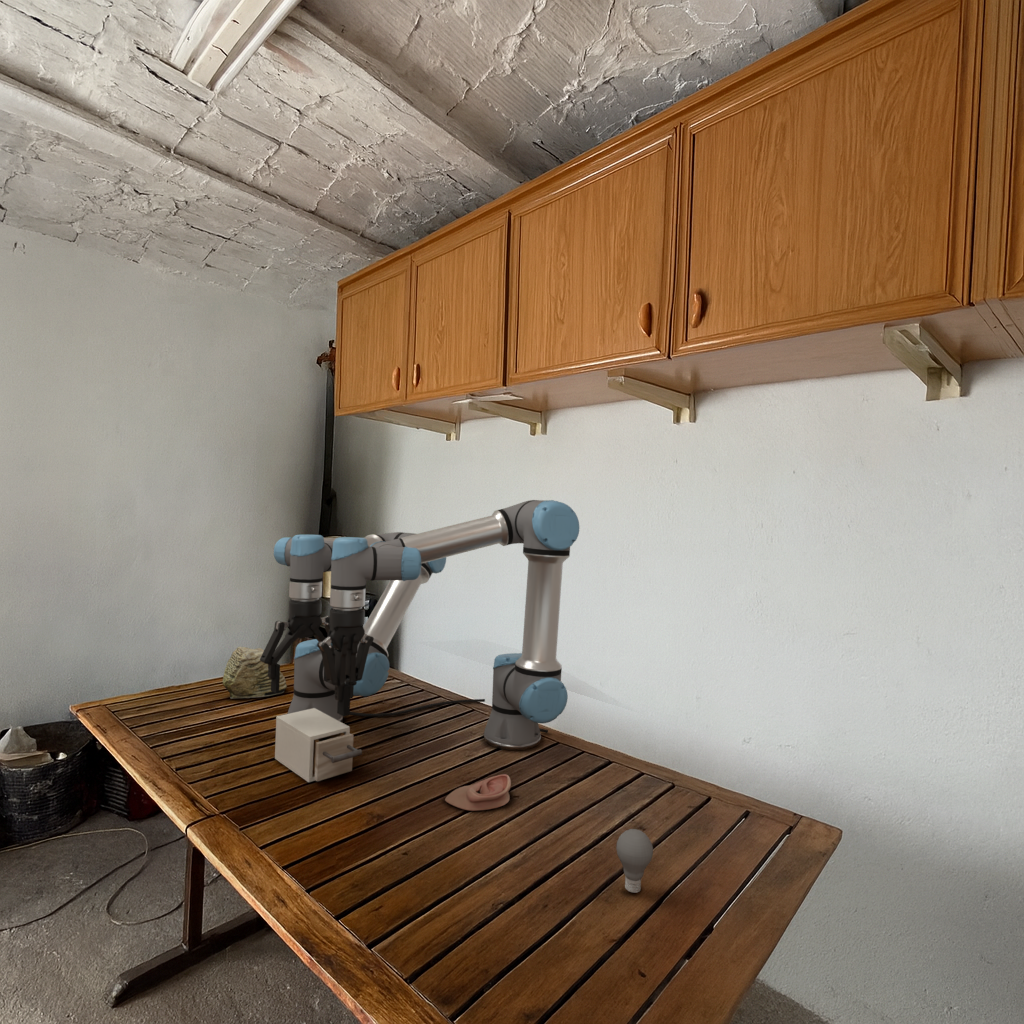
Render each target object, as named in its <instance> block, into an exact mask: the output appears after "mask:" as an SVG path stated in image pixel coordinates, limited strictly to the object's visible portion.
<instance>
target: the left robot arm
mask: <svg viewBox="0 0 1024 1024" xmlns="http://www.w3.org/2000/svg"><path fill="white" fill-rule="evenodd" d="M415 534H416V533H413V532H403V531H402V532H401V531H396V532H387V533H386V532H385V533H374V534H368V535H366V536H364V538H365V539H367V541H368V546H370V545H372V544H373V543H375V542H379V541H385V542H386V541H391V540H395V539H400V538H403V537H407V536H411V535H415ZM336 538H337V537H324V536H323V535H321V534H307V533H306V534H295V535H293V536H290V537H285V536H284V537H281V538H280V539H278V540H277V541H276V542H275V544H274V547H273V557H274V560H275V561H276V563H278V564H279V565H281V566H287V567H289V588H288V590H289V591H288V598H290V599H289V601H288V612H287V613H288V620H287V621H280V620H276V621H275V623H274V628H273V631H272V633H271V636H270V638H269V640H268V641H267V644H266V645H265V648H264V649H263V650H264V652H263V654H262V656H261V658H260V661H261V662H263V663H265V664H268V677H269V678H270V679H271V691H273V692H274V693H279V682H280V672H281V664H279V662H280V660H281V659H282V657H283V656H284V655H285V654H286V652H287V651H288V650H289V648H290V647H291V646H292V644H294V642H296V641H297V640H298V639H299V640H300V639H305V638H313V637H314V638H313V639H308V640H304V641H302V642H299V643H298V644H297V645H296V647H295V652H294V653H295V654H294V657H293V659H294V660H293V662H294V663H293V665H294V666H293V695H292V696H293V697H292V699H291V702H290V704H289V708H288V711H287V713H286V714H290V713H294V712H299V711H303V710H308V709H312V708H315V709H317V710H319V711H321V712H323V713H325V714H327V715H328V716H330V717H332V718H334V719H336V720H338V721H340V722H342V723H343V722H344V716H342V715H340V714H338V713H337V704H338V701H337V700H335V685H332V684H330V683H328V682H327V679H326V674H325V669H324V664H323V658H322V653H321V651H320V649H319V647H318V646H317V643H318V642H319V641H321V642H322V641H324V640H325V639H326V638H327V637H325V636H324V633H323V632H322V631H321V630H320V626H321V625H322V626H323V627H324V630H325V631H326V633H327V635H328V632H329V630H330V625H329V616H330V615H323V616H322V617H321V615H322V603H323V602H322V600H321V598H322V596H323V579H324V578H323V575H324V573H328V572H331V557H332V550H333V542H334V540H335V539H336ZM446 563H447V557H445V558H441V559H437V560H433V561H430V562H426V563H422V564H421V572H420V575H419V577H418V578H417V579H415V580H406V581H403V580H389V581H388V583H387V585H386V587H385V589H384V590H383V591H382V594H381V596H380V597H379V599H378V601H377V603H376V604H375V606H374V607H373V610H372V611H371V613H370V615H369V617H368V618H367V620H366V621H365V622H364V625H363V628H364V630H365V634H367V635H368V636H371V637H373V638H374V640H373V642H372V644H371V645H370V647H369V651H368V656H367V660H366V664H365V668H364V672H363V676H362V679H361V680H358V681H356V682H357V684H356V685H354V690H353V697H354V696H355V697H370V696H374V695H375V694H376V693H378V692H379V691H380V690H381V689H382V688H383V687H384V685H385V684H386V682H387V680H388V678H389V674H390V673H389V671H390V661H389V652H388V647H389V646H390V643H391V641H392V640H393V638H394V636H395V634H396V632H397V630H398V629H399V627H400V625H401V623H402V620H403V619H404V617H405V615H406V613H407V611H408V609H409V607H410V606H411V603H412V602H413V600H414V598H415V597H416V595H417V592H418V590H420V589H419V588H420V587H421V585H424V584H427V583H428V582H429V580H430V578H431V577H432V575H433V574H439V573H442V572H443V570H444V568H445V567H446ZM287 629H288V631H287V632H286V634H285V635H284V637H283V634H284V632H285V631H286V630H287ZM282 638H283V639H282ZM281 639H282V641H281ZM280 641H281V642H280ZM359 644H360V642H359ZM359 644H358V648H359ZM331 646H332V648H331V651H332V655H333V660H334V666H335V653H334V646H333V645H332V643H331ZM357 652H358V650H357ZM356 656H357V654H356ZM345 683H346V682H345ZM485 702H486V699H485V698H477V699H475V698H473V699H472V698H471V699H470V698H469V699H457V700H455V699H454V700H447V701H440V702H436V703H435V702H434V703H430V704H426V705H421V706H417V707H413V708H409V709H404V710H400V711H394V712H384V713H382V712H381V713H366V712H365V713H364V712H363V713H362V712H354V711H350V715H349V716H355V717H368V718H370V717H371V718H373V717H374V718H377V717H378V718H379V717H380V718H381V717H392V716H393V717H394V716H399V715H404V714H407V713H412V712H416V711H421V710H424V709H428V708H429V709H430V708H433V707H438V706H443V705H452V704H461V703H485Z"/></svg>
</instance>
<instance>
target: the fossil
mask: <svg viewBox="0 0 1024 1024" xmlns="http://www.w3.org/2000/svg"><path fill="white" fill-rule="evenodd" d="M264 650H265V649H263V648H260V647H258V648H251V647H247V646H246V647H245V646H238V647H237V648H236V649H235V650H233V651H232V653H231V656H230V657H229V659H228V660H227V663H226V666H225V668H224V671H223V675H222V676H223V677H222V685H223V687H224V688H225V690H226V691H228V693H229V698H230V699H250V698H264V697H271V696H275V695H281V694H284V693H285V691H286V689H287V687H288V686H287V680H286V678H285V676H284V674H283V673H282V672H281V671H280V682H279V693H274V692H273V691H271V679H270V678H269V677H268V664H265V663H263V662H261V661H260V658H261V656H262V654H263V652H264Z"/></svg>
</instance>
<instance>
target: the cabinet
mask: <svg viewBox="0 0 1024 1024" xmlns="http://www.w3.org/2000/svg"><path fill="white" fill-rule="evenodd" d="M350 732H351V726H349V725H347V724H345V723H343V722H340V721H338V720H336V719H334V718H332V717H330V716H328V715H327V714H325V713H323V712H321V711H319V710H317V709H315V708H312V709H308V710H303V711H299V712H294V713H290V714H287V713H286V714H281V715H277V716H276V717H275V741H274V742H275V743H274V760H276V761H277V762H279V763H280V764H281V765H283V766H285V768H288V769H289V770H290V771H292V772H293V773H294V774H295V775H297V776H298V777H300V778H301V779H303V780H304V781H306V782H307V783H312V782H316V780H315V775H314V774H313V750H314V740H316V739H319V738H323V737H327V736H331V735H335V734H339V733H344V735H347V734H350Z"/></svg>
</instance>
